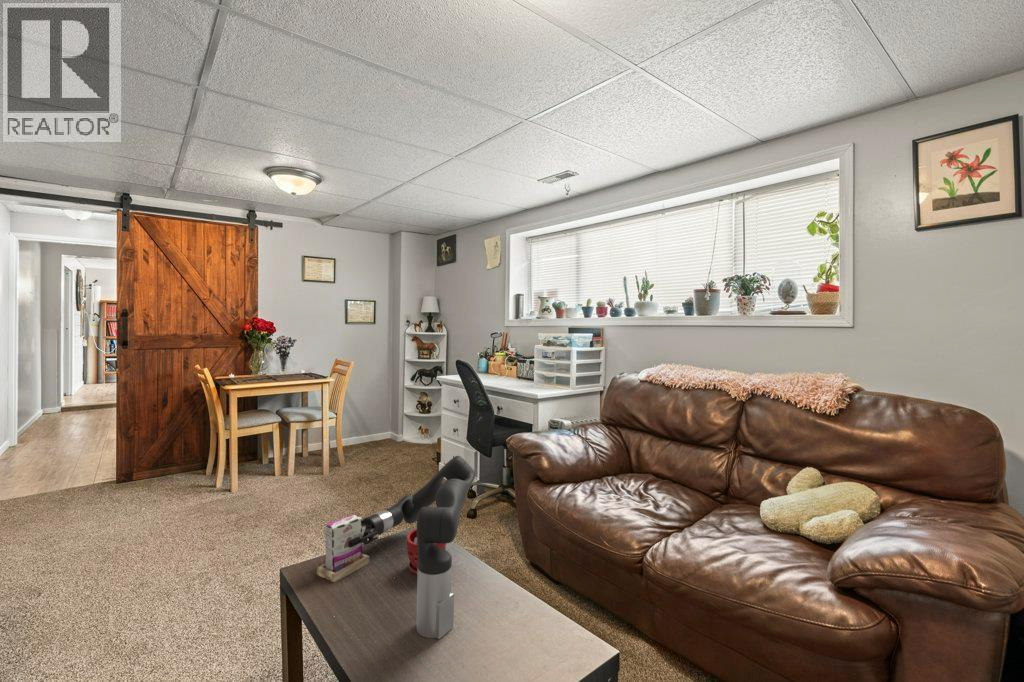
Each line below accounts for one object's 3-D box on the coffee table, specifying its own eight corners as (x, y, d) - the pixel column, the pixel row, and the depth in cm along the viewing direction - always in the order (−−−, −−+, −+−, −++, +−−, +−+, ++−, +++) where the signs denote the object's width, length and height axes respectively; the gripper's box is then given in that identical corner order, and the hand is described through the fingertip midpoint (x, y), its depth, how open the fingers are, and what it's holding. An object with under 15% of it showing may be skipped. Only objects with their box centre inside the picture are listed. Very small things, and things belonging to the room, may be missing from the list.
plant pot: (402, 563, 163) (402, 529, 163) (439, 556, 169) (440, 523, 168) (411, 583, 151) (411, 546, 151) (450, 575, 157) (451, 539, 156)
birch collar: (369, 563, 163) (369, 556, 163) (334, 582, 151) (334, 574, 151) (352, 556, 168) (352, 549, 167) (316, 574, 155) (316, 567, 155)
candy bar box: (354, 560, 165) (354, 513, 164) (362, 564, 162) (363, 517, 161) (324, 572, 156) (324, 524, 156) (332, 578, 153) (333, 528, 153)
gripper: (391, 539, 168) (354, 558, 154) (363, 529, 175) (326, 546, 161) (392, 518, 168) (355, 535, 154) (363, 509, 175) (326, 525, 161)
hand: (340, 541), depth 157 cm, fingers open, 8 cm apart
